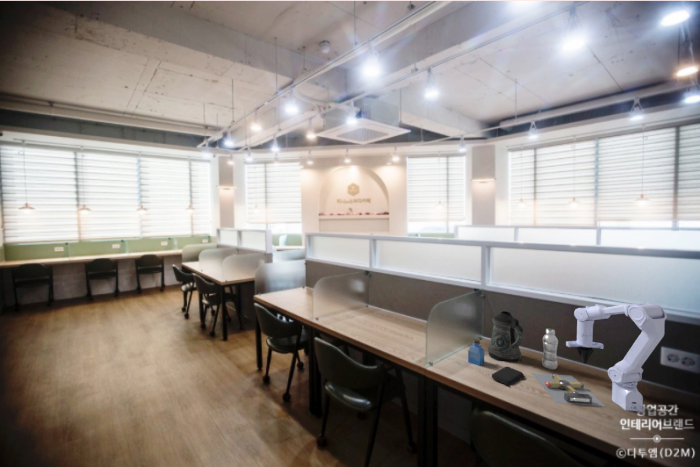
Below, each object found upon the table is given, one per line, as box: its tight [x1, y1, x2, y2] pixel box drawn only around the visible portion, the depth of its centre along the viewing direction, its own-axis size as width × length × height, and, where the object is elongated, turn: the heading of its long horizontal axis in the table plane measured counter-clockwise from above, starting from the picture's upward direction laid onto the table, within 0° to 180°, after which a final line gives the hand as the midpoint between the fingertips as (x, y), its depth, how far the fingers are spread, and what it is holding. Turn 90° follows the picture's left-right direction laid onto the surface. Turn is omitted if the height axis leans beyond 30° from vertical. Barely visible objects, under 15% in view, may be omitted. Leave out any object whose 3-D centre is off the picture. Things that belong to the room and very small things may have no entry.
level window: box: [564, 392, 592, 404], centre depth 123 cm, size 3×9×3 cm, turn 81°
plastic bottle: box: [541, 328, 559, 370], centre depth 152 cm, size 6×7×20 cm
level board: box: [531, 372, 606, 408], centre depth 134 cm, size 24×18×1 cm
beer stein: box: [487, 310, 526, 363], centre depth 165 cm, size 16×19×25 cm
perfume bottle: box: [467, 338, 485, 367], centre depth 160 cm, size 6×6×12 cm
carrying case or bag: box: [491, 366, 526, 387], centre depth 143 cm, size 11×3×15 cm
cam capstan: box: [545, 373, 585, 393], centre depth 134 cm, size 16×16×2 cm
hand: (584, 362), depth 139 cm, fingers closed
